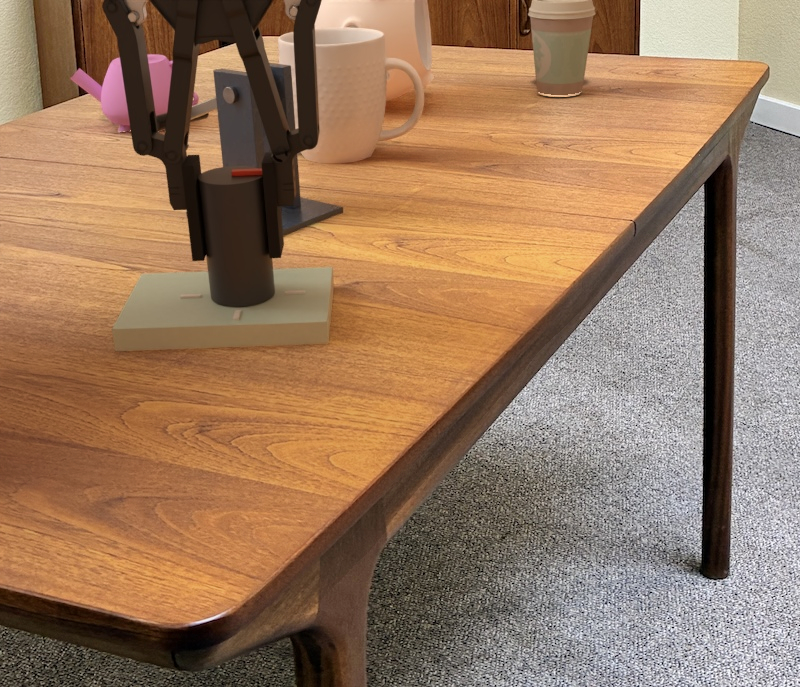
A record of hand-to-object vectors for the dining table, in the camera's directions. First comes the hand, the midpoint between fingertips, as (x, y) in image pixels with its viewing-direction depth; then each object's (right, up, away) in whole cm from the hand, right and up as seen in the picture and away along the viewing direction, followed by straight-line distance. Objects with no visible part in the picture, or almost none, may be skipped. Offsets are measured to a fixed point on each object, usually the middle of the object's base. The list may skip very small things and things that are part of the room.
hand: (238, 251), depth 75 cm
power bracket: (-1, +5, +25) cm, 26 cm away
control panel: (-1, -6, +3) cm, 6 cm away
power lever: (-5, +14, +24) cm, 28 cm away
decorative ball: (+7, +24, +66) cm, 71 cm away
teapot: (-21, +20, +61) cm, 67 cm away
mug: (+5, +13, +44) cm, 46 cm away
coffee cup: (+32, +26, +70) cm, 81 cm away
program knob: (0, -3, +1) cm, 3 cm away
